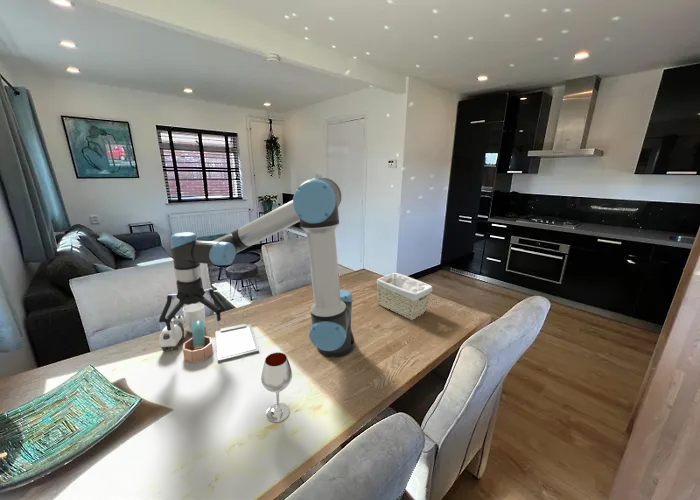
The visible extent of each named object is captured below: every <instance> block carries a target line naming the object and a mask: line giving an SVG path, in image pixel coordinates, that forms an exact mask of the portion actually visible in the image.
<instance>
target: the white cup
mask: <svg viewBox="0 0 700 500" xmlns="http://www.w3.org/2000/svg"><path fill="white" fill-rule="evenodd" d="M182 312H183V313H182V314H183V318H184V319H185V322H184V324H185V327H186V330H187V332H188V333H191V334H192V322H195V321H204V329H205V327H206V314H205V313H206V312H205V305H204V304H202V303H200V302H198V303H196V304H190V305H187V304H185V306H183V307H182Z"/></svg>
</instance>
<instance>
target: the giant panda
mask: <svg viewBox="0 0 700 500" xmlns="http://www.w3.org/2000/svg"><path fill="white" fill-rule="evenodd" d="M172 319H173V321H174V328H175V334H176V337H175V339H174V340H173V339H172V333H171V330H170V331H168V330H167V326H166V325H165V327H164V328H163V329H162V330H161V333H160V334H159V339H158V342H159V346H160V348H161V350H162V352H163V353H166V352H168V351H169V349H170V348H171V351H172V352H177V350H178V349H179V346H178V344H179V342H180V343H182V342H183V343H184V341H185V340H186V337H185V328H184V324H185V319H184V316H182V315H175V316H174V317H173V318H172Z"/></svg>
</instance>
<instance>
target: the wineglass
mask: <svg viewBox="0 0 700 500" xmlns="http://www.w3.org/2000/svg"><path fill="white" fill-rule="evenodd" d="M262 366H263V367H262V371H261V375H260V376H261V377H260V381H261V384H262V386H263V387H264V388H265V390H266V391H268V392H271V393H275V394H276V395H275V398H276V403H274V404H272V405H271V406H269V408H268V409H267V410H266V417H267V419H268V420H269V421H270V422H272V423H280V422H283V421H284V420H286V419H287V418H288V417H289V414H290V412H291V410H290V407H289V405H287V403H284V402H283V403H282V402H280V392H282V391H284V390H285V389H287V387H288V386H289V385H290V383H291V381H292V377H293V371H292V367H291V364H290V362H289V359H288V357H287V355H286V354H285V353H283V352H278V351H277V352H273V353H270V354H268V355H267V356H266V357H265V359H264V363H263V365H262Z"/></svg>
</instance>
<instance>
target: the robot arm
mask: <svg viewBox="0 0 700 500" xmlns="http://www.w3.org/2000/svg"><path fill="white" fill-rule="evenodd" d="M341 201H342V191H341V188H340V187H339V185H338V184H337V183H336V182H335V181H334V180H332V179H331V178H327V177H319V178H315V177H314V178H311V179H307V180H305V181H304V182H302V183H301V184H300V185H299V186H298V187H297V188H296V190H295V192H294V194H293V198H292V200H290V201H288V202H287V203H283V205H280V206H279V207H277V208H275V209H273V210H271V211H269V212H268V213H265V214H263V215H262V216H260V217H258V218H257V219H255V220H254V219H253V220H252V221H250V222H248V223H246V224H245V225H243V226H241V227H239V228H237V229H236V230H234V231H232V232H229V233H227V234H225V235H224V236H220V237H218V238H215V239H213V240H202V239H198V237H197V234H196V233H194V232H192V231H190V232H189V231H185V232H183V231H182V232H176V233H174V234H172V235H171V236H170V250H171V255H172V261H173V267H174V268H173V270H174V275H175V276H174V277H175V279H176V281H175V282H176V289H177V293H171V292H168V294H167V296H166V303H165V304H164V307H163V308H162V309H163V310H162V311H161V313H160V316H159V319H158V322H159V323H161V324H162V323H165V327H166V326H167V330H168V331H170V330H171V333H172V339H173V340H174V339H175V337H176V334H175V328H174V321H173V317H174V316H177V314H178V312H179V311H180V310H181V308H183V307H184V305H190V304H196V303H202V304H204V307H207V308H209V309H210V310H211V311H212V312H213V315H214V316H213V317H214V324H215V331H219V324H218V323H219V322H221V320H222V319H221V318H222V317H221V313H222V312H225V311H226V306H225V304H223V302H222V301H221V300H220V298H219V297H218V296H217V294H216V293H215V292H214V288H213V287H212V286H210V287H208V288H206V289H204V285H203V279H202V271H201V270H202V269H201V264H206V265H215V266H229V265H231V264H233V262H234V260H235V258H236V254H238V253H240V252H241V251H243V250H245V249H247V248H250V247H252V246H253V245H256V244H258V243H260V242H262V241H263V240H265V239H267V238H269V237H272V236H274V235H275V234H277V233H279V232H281V231H284V230H285V229H287V228H289V227H291V226H294V225H296V224H297V223H300V224H299V227H300V228H301V229H302V230H304V231H305V232H306V241H307V248H308V249H307V250H308V257H309V258H308V259H309V260H308V261H309V267H310V268H309V270H310V277H311V286H312V293H313V294H312V295H313V304H312V305H311V307H310V318H311V326H310V328H309V333H308V336H309V339H310V340H309V341H310V342H311V343H312V345H313V346H314V347H316V349H317V352H319V353H321V354H322V355H324V356H326V357H330V358H331V357H332V358H340V357H341V358H342V357H344V356H347V355H349V354H351V353H352V352H353V351H354V348H355V337H354V334H353V333H354V332H353V331H352V330H353V329H352V313H353V312H352V309H353V308H352V307H353V295H352V293H351V292H350V291H349V290H346V289H340V288H341V287H340V278H339V277H340V275H339V266H338V263H339V262H338V255H337V254H338V253H337V242H336V241H337V240H336V231H335V230H336V228H337V227H338V226H339V225H340V215H339V214H340V213H339V207H340V204H341ZM205 294H207V295H208V296H210V298H211V299H212V301H214V303H215V304H216V305H215V304H214V303H213V302H211V301H210V300H208V299H206V297H205ZM175 299H178V300H179V301H178V302H177V304H176V305H175V306H174V308H173V309H172V310H171V311H170V312H169V309H170V307H171V304H172V302H173V301H175ZM168 312H169V314H168ZM167 314H168V315H167ZM166 315H167V316H166Z"/></svg>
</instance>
